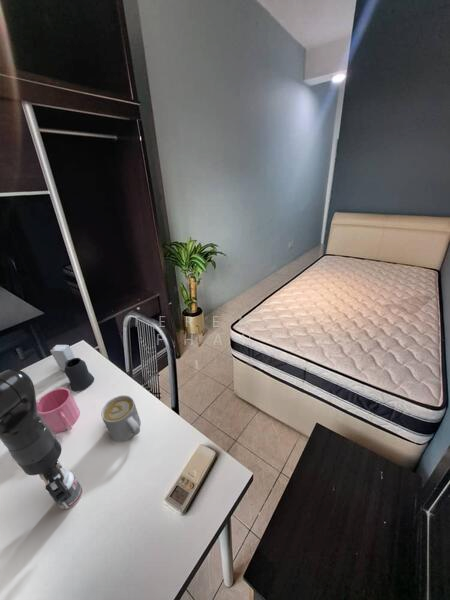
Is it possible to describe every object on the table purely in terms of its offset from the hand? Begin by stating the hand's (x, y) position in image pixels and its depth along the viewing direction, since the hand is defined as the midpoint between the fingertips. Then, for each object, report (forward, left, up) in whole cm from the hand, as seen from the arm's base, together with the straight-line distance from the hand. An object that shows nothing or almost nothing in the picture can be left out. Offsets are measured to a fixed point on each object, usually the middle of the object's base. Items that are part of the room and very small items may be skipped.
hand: (62, 484), depth 63 cm
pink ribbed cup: (-9, +26, -7) cm, 28 cm away
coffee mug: (+13, +16, -7) cm, 22 cm away
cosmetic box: (-16, +55, -7) cm, 58 cm away
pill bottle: (0, 0, -7) cm, 7 cm away
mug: (-9, +45, -7) cm, 46 cm away
